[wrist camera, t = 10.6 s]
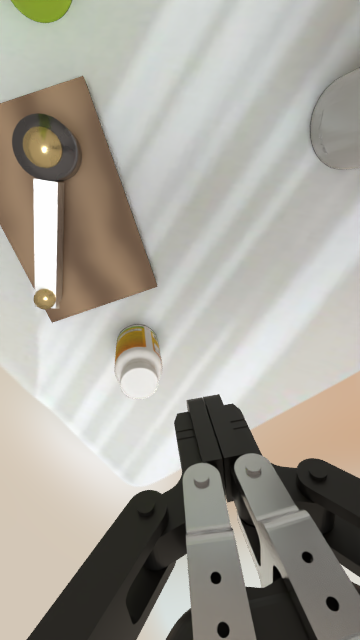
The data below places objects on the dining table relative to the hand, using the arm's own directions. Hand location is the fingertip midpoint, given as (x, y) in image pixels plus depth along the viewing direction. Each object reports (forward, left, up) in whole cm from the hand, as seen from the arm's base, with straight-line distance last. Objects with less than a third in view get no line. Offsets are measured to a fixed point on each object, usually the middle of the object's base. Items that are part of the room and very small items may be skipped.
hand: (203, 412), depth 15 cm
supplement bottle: (+6, +8, -27) cm, 29 cm away
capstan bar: (+8, -9, -25) cm, 28 cm away
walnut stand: (+7, -9, -27) cm, 29 cm away
